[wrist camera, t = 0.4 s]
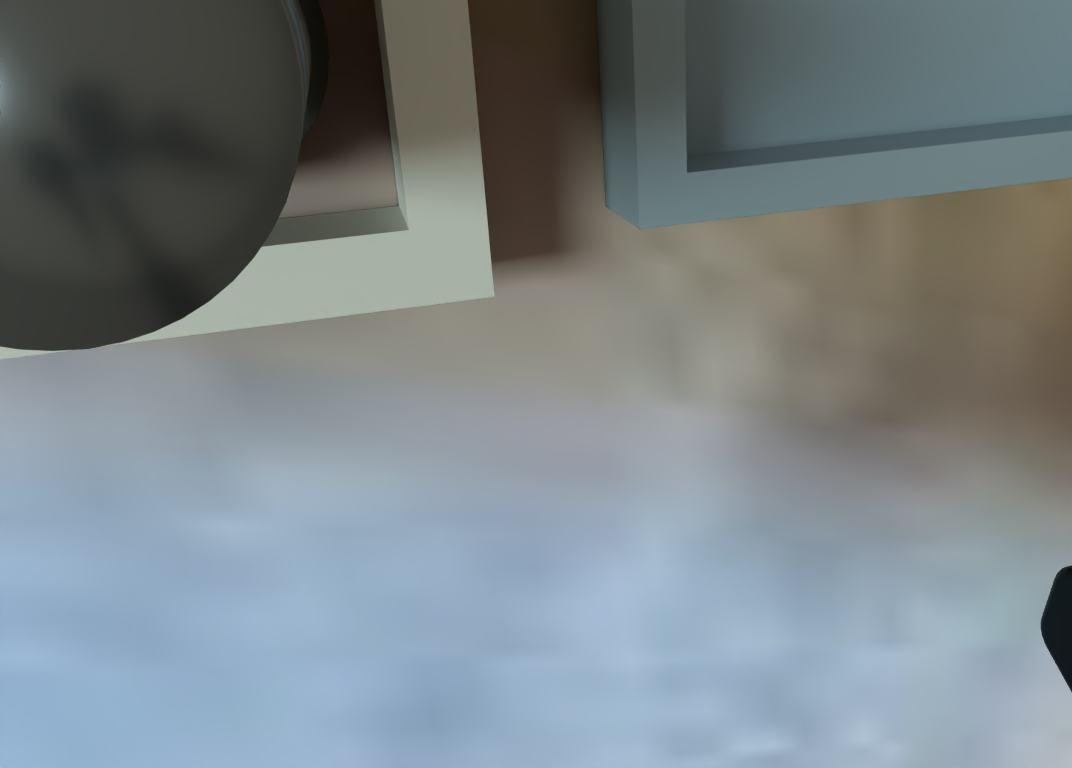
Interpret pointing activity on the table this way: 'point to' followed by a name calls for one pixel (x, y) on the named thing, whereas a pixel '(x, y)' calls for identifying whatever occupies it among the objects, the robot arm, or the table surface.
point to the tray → (827, 102)
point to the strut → (143, 156)
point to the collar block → (391, 232)
